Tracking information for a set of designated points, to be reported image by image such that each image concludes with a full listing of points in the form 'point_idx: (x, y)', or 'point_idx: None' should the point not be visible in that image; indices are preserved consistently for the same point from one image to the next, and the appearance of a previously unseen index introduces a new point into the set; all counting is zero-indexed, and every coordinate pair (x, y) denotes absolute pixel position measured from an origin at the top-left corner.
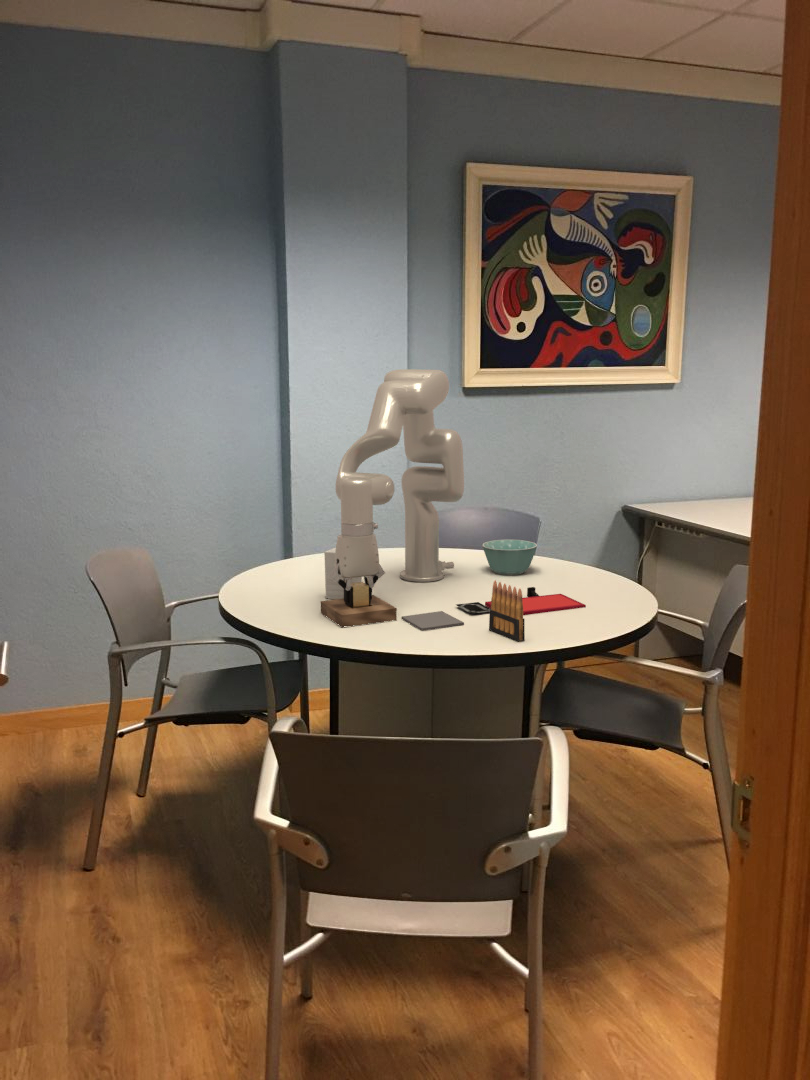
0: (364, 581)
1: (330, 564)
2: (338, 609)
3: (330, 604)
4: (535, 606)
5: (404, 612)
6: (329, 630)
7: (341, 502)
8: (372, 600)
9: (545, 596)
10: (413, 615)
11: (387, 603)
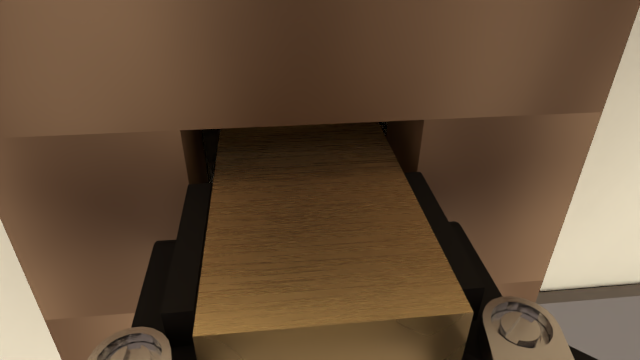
0: (492, 353)
1: None
2: (82, 297)
3: (15, 122)
4: None
5: (635, 184)
6: (18, 354)
7: None
8: (499, 148)
9: None
10: (592, 307)
11: (541, 269)
